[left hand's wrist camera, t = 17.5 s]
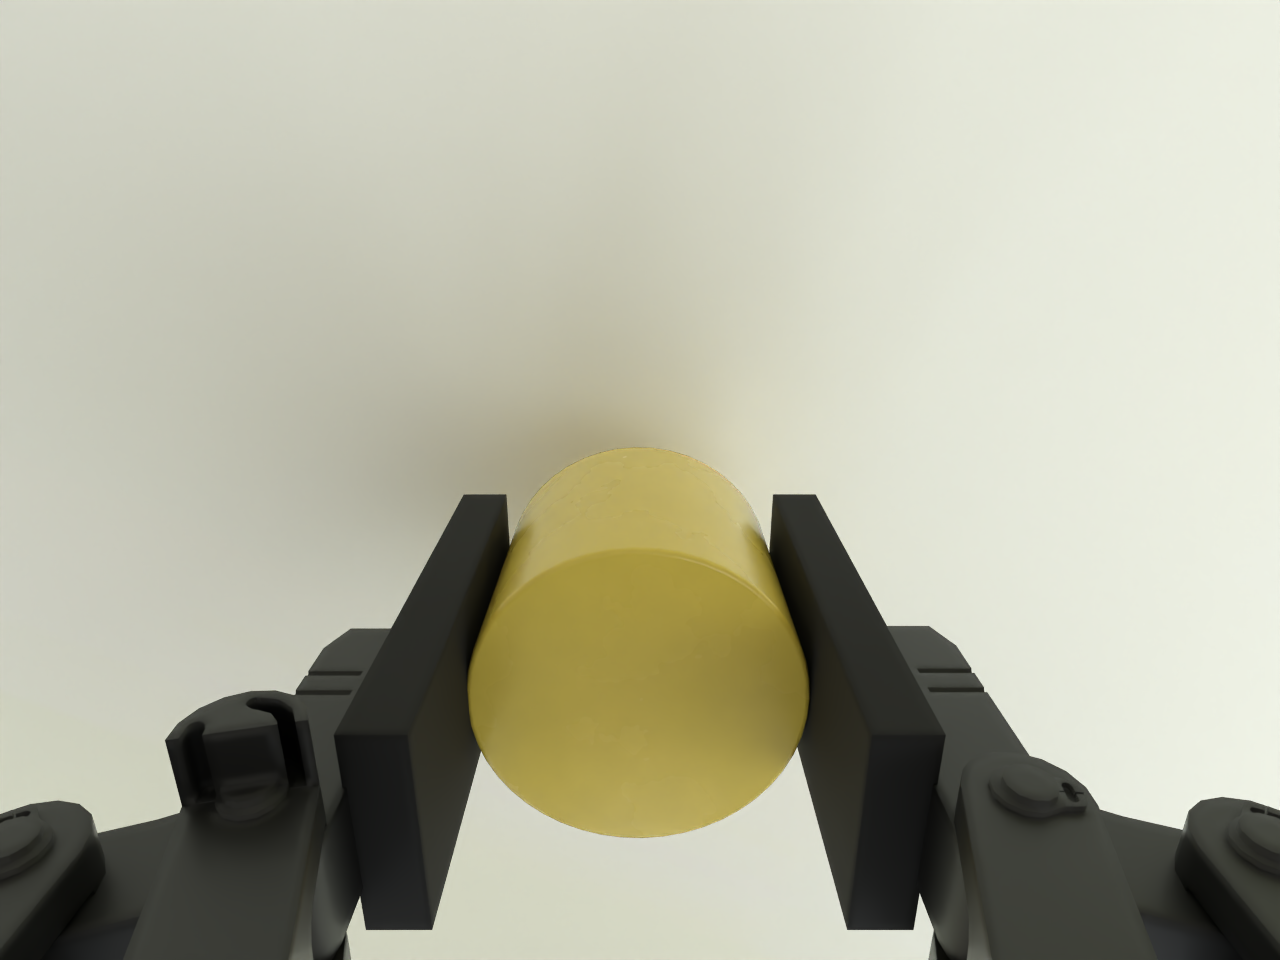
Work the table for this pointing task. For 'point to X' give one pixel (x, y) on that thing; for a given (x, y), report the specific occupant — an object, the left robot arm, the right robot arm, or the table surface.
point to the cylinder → (638, 651)
